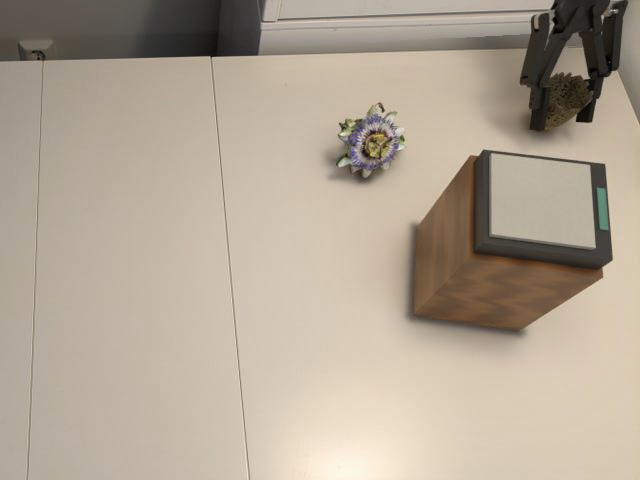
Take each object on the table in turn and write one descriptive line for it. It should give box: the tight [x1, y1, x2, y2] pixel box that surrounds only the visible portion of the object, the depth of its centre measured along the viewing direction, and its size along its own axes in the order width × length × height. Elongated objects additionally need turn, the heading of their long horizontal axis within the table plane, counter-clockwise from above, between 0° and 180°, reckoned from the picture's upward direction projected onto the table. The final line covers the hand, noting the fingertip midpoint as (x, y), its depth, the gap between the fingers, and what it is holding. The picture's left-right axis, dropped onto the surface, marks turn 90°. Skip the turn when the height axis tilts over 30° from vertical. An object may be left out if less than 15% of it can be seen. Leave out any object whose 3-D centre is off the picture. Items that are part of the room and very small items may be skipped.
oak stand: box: [412, 154, 604, 332], centre depth 80 cm, size 16×16×18 cm
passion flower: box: [334, 101, 407, 179], centre depth 93 cm, size 11×11×12 cm
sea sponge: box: [530, 71, 594, 132], centre depth 93 cm, size 8×7×8 cm
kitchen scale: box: [474, 148, 614, 270], centre depth 70 cm, size 15×14×3 cm
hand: (560, 126), depth 93 cm, fingers closed on sea sponge, 7 cm apart
